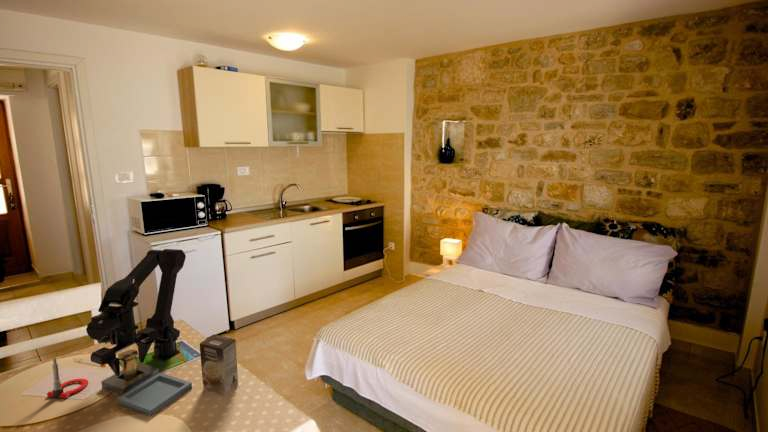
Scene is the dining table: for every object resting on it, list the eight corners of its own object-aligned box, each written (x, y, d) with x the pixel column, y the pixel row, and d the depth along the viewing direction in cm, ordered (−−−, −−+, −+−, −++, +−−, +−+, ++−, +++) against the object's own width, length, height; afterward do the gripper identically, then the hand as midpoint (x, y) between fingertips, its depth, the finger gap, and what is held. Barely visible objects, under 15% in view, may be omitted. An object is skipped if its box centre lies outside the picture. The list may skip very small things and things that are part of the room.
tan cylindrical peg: (133, 375, 129) (130, 348, 127) (144, 379, 127) (141, 351, 125) (118, 384, 124) (114, 356, 122) (129, 388, 122) (125, 360, 120)
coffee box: (202, 390, 121) (197, 343, 118) (216, 378, 127) (213, 333, 124) (225, 396, 118) (221, 348, 115) (239, 384, 124) (236, 338, 121)
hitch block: (138, 368, 133) (137, 361, 132) (159, 375, 129) (158, 368, 128) (102, 388, 122) (101, 381, 121) (123, 396, 118) (122, 389, 117)
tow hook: (72, 380, 126) (44, 397, 117) (69, 343, 125) (39, 357, 116) (95, 383, 125) (68, 400, 116) (91, 345, 123) (63, 360, 114)
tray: (160, 378, 127) (160, 372, 127) (192, 388, 122) (191, 382, 122) (118, 404, 114) (117, 398, 114) (151, 416, 109) (150, 410, 109)
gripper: (135, 308, 133) (140, 349, 136) (75, 332, 116) (82, 379, 119) (157, 313, 129) (162, 356, 132) (99, 339, 112) (106, 387, 115)
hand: (129, 368), depth 124 cm, fingers open, 8 cm apart
